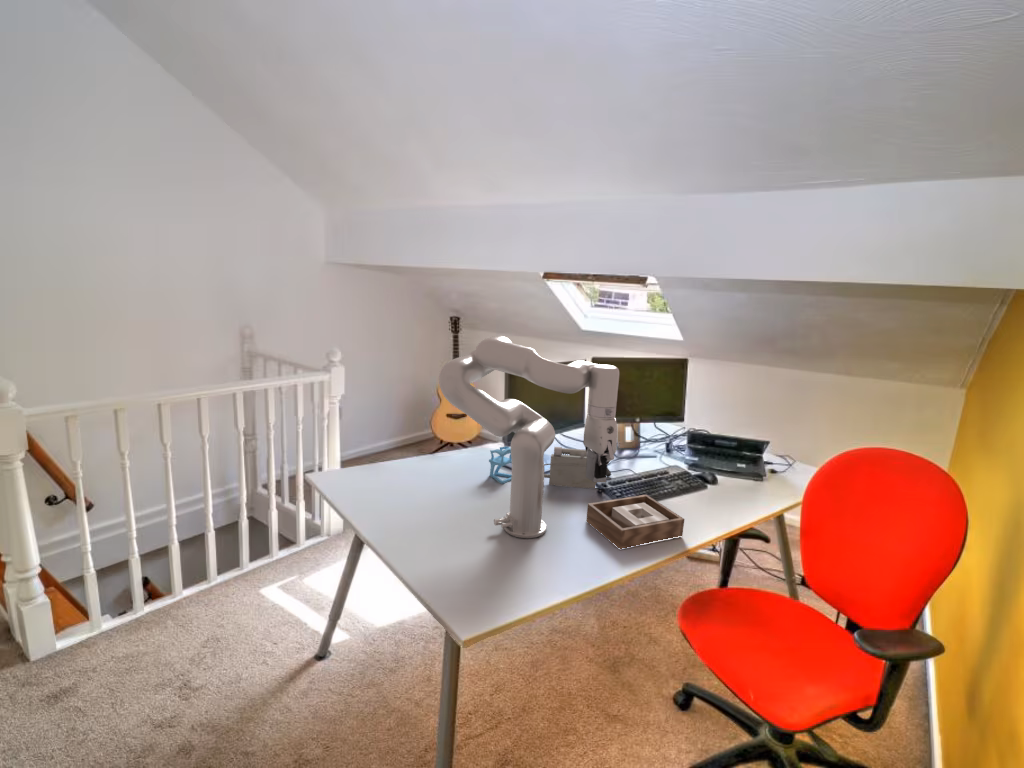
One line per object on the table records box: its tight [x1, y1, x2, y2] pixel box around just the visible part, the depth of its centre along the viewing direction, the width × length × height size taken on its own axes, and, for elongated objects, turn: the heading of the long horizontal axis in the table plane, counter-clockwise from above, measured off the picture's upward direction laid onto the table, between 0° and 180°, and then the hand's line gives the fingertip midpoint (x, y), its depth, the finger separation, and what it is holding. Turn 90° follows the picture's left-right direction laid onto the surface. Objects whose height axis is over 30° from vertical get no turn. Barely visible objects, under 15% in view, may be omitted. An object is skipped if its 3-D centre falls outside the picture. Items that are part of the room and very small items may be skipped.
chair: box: [488, 445, 512, 485], centre depth 199 cm, size 8×8×12 cm
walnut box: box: [586, 494, 685, 549], centre depth 165 cm, size 22×18×6 cm
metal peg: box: [586, 449, 607, 482], centre depth 151 cm, size 4×4×8 cm
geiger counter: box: [544, 446, 607, 489], centre depth 195 cm, size 14×6×25 cm
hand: (595, 473), depth 152 cm, fingers closed on metal peg, 4 cm apart
